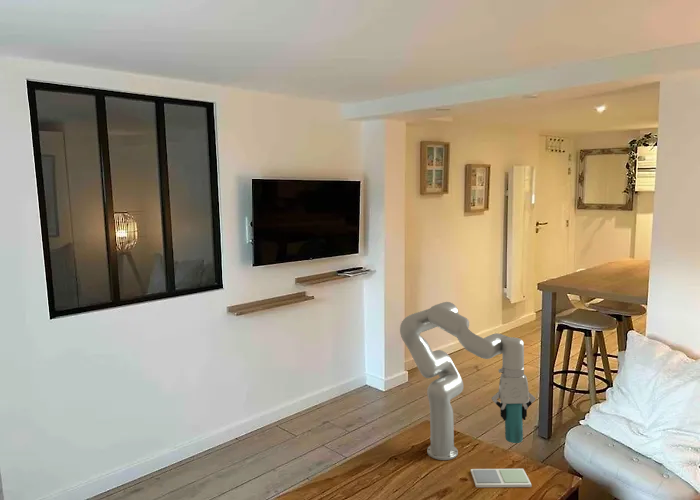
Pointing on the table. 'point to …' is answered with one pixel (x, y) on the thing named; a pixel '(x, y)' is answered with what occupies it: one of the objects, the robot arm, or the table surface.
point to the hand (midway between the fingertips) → (513, 418)
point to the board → (500, 478)
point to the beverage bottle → (514, 423)
